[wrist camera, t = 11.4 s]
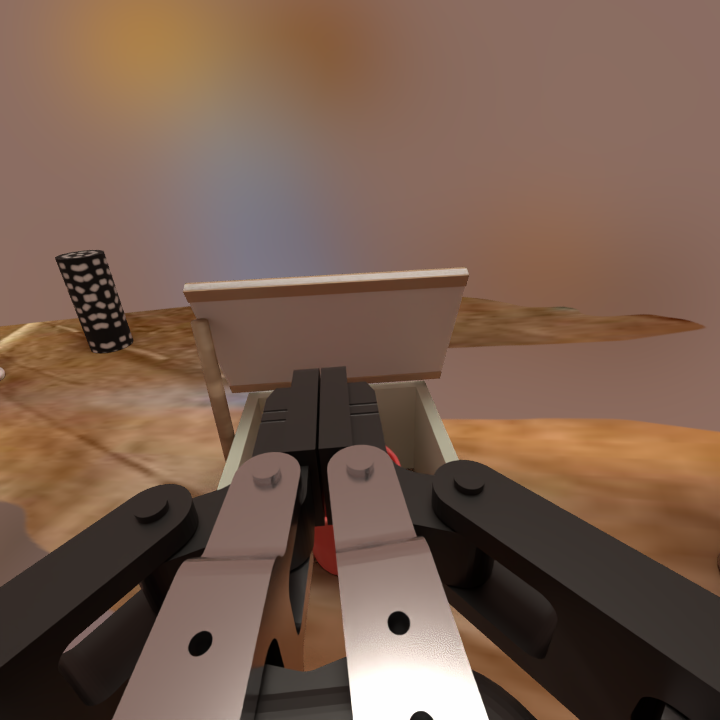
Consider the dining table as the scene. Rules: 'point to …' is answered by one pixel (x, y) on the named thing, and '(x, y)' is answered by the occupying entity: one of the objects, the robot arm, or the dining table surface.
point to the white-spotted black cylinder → (95, 300)
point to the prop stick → (213, 382)
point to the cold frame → (398, 419)
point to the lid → (331, 325)
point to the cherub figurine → (2, 373)
